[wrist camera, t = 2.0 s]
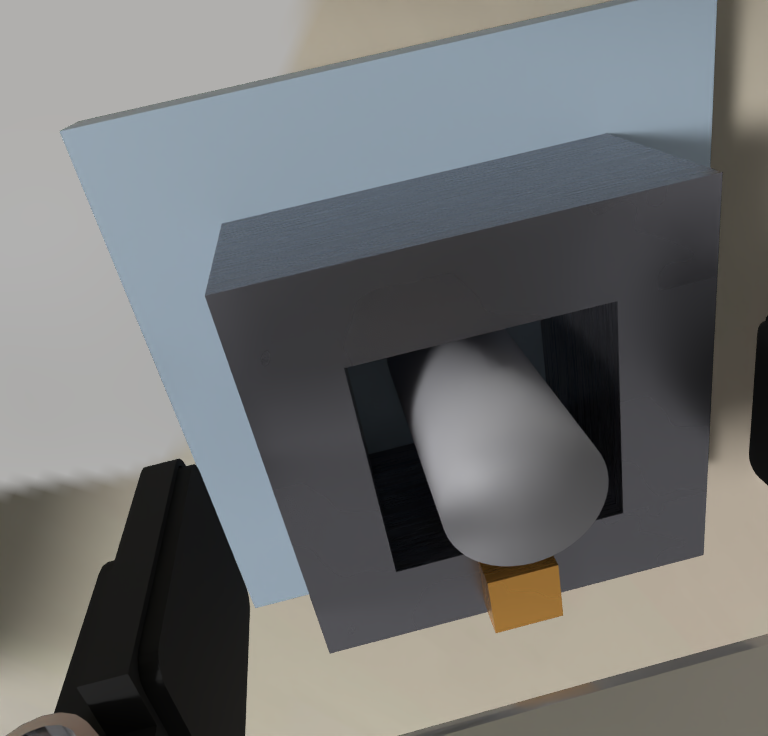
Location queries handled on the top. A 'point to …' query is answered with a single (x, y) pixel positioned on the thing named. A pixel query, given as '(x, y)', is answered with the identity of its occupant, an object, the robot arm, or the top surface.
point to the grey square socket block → (467, 319)
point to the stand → (369, 170)
